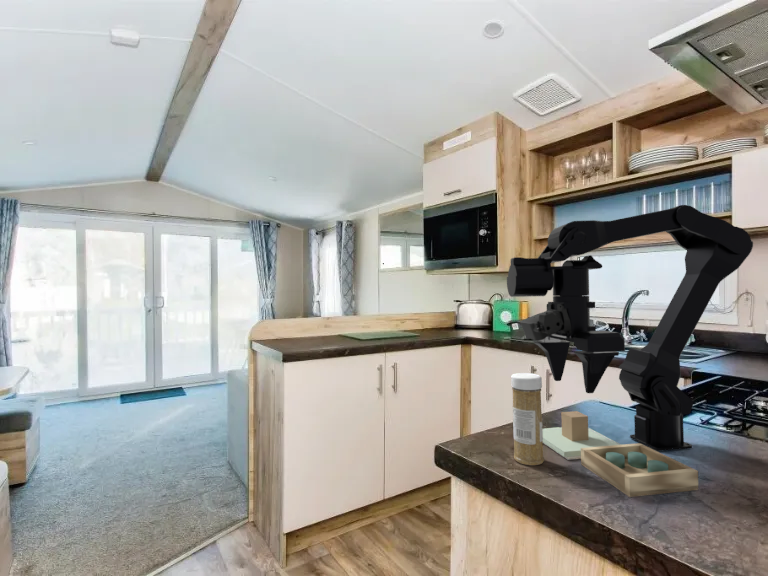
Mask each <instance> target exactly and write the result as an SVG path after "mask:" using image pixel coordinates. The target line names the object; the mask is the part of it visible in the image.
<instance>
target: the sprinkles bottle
mask: <svg viewBox="0 0 768 576" xmlns="http://www.w3.org/2000/svg"><path fill="white" fill-rule="evenodd" d="M510 378H511V379H510V385H511V387H512V388H511V390H512V425H513V427H512V429H513V444H514V447H513V449H514V451H513V452H514V454H513V458H514V460H515V461H516V462H517V463H519V464H521V465H526V466H539V465H542V464H543V462H544V461H545V457H544V448H543V446H544V445H543V444H544V443H543V429H544V428H543V420H542V419H543V416H542V415H543V413H542V393H541V392H542V387H543V383H542V382H543V381H542V376H541V375H540V374H537V373H532V372H518V373H512V374H511V376H510Z"/></svg>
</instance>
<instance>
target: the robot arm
mask: <svg viewBox="0 0 768 576" xmlns="http://www.w3.org/2000/svg"><path fill="white" fill-rule="evenodd" d="M665 232H666V233H667V234H669V235H670V236H671V237H672V239H673V240H674V241H675V243H676V244H677V246H679V247H680V248H682V249H684V250H685V252H686V253H685V255H684V263H685V273H684V276H683V278H682V279H681V281H680V284H679V286H678V287H677V289H676V290H675V293H674V294H673V297H672V298H671V300H670V302H669V304H668V305H667V308H666V309H665V312H664V313H663V314H662V317H661V319H660V321H659V323H658V325H657V326H656V328H655V330H654V332H653V334H652V336H651V338H650V339H649V342H648V343H647V344H646V345H645V346H643V347H642V348H640V349H636V348H632V347H631V348H629V349H628V351H627V353H626V356H625V358H624V360H623V361H622V363H621V364H620V365H618V369H621V370H620V372H619V376H618V380H619V381H620V385H621V386H622V388H623V389H624V390H625V391H626V392H627V393H628V395H629V398H630V400H631V401H632V402H635V403H637V404H638V405H635V414H634V416H633V417H634V419H633V420H634V434H630V435H629V439H631V440H634V441H635V442H638V443H641V444H643V445H645V446H647V447H649V448H651V449H653V450H655V451H657V452H664V451H675V450H676V451H677V450H687V449H688V450H689V449H693V445H692V444H690V443H689V442H685V440H684V439H685V437H684V415H690V414H691V411H692V409H693V406H694V401H693V400H692V399H691V398H690V397H689V396H688V395H687V394H685V392H683V390H681V389H680V388H679V387H678V385H679V382H680V379H681V375H682V374H681V373H682V372H681V362H680V358H681V356H682V353H683V351H684V349H685V347H686V345H687V343H688V342H689V340H690V339H691V336H692V335H693V332H694V331H695V329H696V328H697V326H698V323H699V321H700V320H701V318H702V316H703V314H704V312H705V310H706V309H707V306H709V303H710V301H711V300H712V297H713V296H714V293H715V292H716V290H717V288H718V286H719V284H720V283H721V282H722V281H723V280H724V279H726V278H727V277H729V276H730V275H731V274H732V273H734V272H735V271H736V270H738V269H739V268H740V267H741V266H742V264H743V263H744V262H745V260H747V258H748V257H749V256H750V254H751V253H752V251H753V247H754V242H753V240H752V239H751V236H750V235H749V233H748V232H747V231H746V230H745V229H744V228H742V227H740V226H734V225H733V224H731V223H730V222H728V221H727V220H724V219H722V218H719V217H716V216H712V215H710V214H707V213H703V212H702V211H699V210H698V209H697V208H695V207H694V206H692V205H688V204H680V205H677V206H675V207H671V208H667V209H664V210H663V209H662V210H658V211H653V212H648V213H644V214H643V213H642V214H639V215H638V214H637V215H634V216H627V217H624V218H619V219H614V220H613V219H612V220H593V219H592V220H591V219H590V220H573V221H570V222H567V223H566V224H563V225H560V226H558V227H555V228H554V229H552V230H551V231H550V233H549V235H548V237H547V245H546V246H545V247H544V249H543V250H542V251H541V253H540V254H539V256H538V257H537V258H536V257H535V258H533V257H532V258H530V257H529V258H526V257H517V256H516V257H512V258H510V266H509V268H508V274H507V276H506V287H507V293H508V295H509V297H511V298H514V297H515V298H516V297H519V298H521V297H522V298H523V297H526V298H527V297H546V295H547V294H548V292H549V291H552V301H548V302H547V304H546V310H545V311H542V312H539V313H537V314H534V315H531V316H529V317H527V318H525V319H522V320H521V321H520V325H521V328H522V331H523V334H524V337H525V339H526V340H530V339H531V340H533V344H535V345H536V346H538V347H539V348H540V349H541V350H542V351H543V352H544V354H545V356H546V357H545V358H546V360H547V362H548V365H549V368H550V371H551V375H552V378H553V379H554V381H555V382H561V381H562V379H563V378H562V377H563V374H564V372H565V367H566V361H567V357H568V353H569V348H570V345H571V343H573V344H574V346H575V348H576V349H577V350H573V353H574V354H575V355H576V356H577V357H578V358H579V360H581V365H582V373H583V375H582V376H583V384H584V388H585V393H586V394H593V393H595V391H596V389H597V387H598V385H599V383H600V381H601V379H602V377H603V376H604V374H605V372H606V370H607V369H608V367H609V365H610V364H611V363H612V361H613V360H614V358H615V357H616V356H617V357H618V356H619V355H620V352H624V351H626V340H625V337H624V336H623V334H622V333H620V332H617V331H609V330H597V329H596V327H597V326H596V325H591V319H590V317H591V316H590V315H591V311H590V309H596V302H595V301H590V273H589V272H590V270H598V269H599V270H600V269H602V268H603V265H602V263H600V262H599V261H598V260H596V259H595V258H594V257H593V255H591V254H590V255H589V254H588V255H586V256H585V254H587V253H590V252H591V251H594V250H598V249H600V248H602V247H605V246H607V245H609V244H611V243H614V242H619V241H623V240H624V241H625V240H629V239H634V238H639V237H643V236H649V235H650V236H651V235H655V234H659V233H665ZM581 255H584V256H583V258H582V259H569V258H571V257H577V256H581ZM568 259H569V260H568ZM557 262H558V263H559V262H563V263H562V265H561V266H559V265H557V266H556V265H555V266H552V264H553V263H557Z"/></svg>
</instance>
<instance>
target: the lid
mask: <svg viewBox="0 0 768 576" xmlns="http://www.w3.org/2000/svg"><path fill="white" fill-rule="evenodd" d="M560 414H561V415H560V416H561V417H560V418H561V426H560V427H548V428H546V427H545V428H543V444H544V443H545V444H546V445H545V444H544V445H545V446H547V445H548V446H549V447H548V446H547V447H548V448H550V447H551V448H552V449H551V448H550V449H551V450H553V449H554V450H555V451H556V452H555V451H554V450H553V451H554V452H555V453H557V452H558V453H559V454H558V453H557V454H558V455H560V454H561V455H562V456H561V455H560V456H561V457H563V456H564V457H569V456H581V448H588V447H600V446H612V445H622V444H620V443H619V442H618V441H615V440H613V439H611V438H609V437H607V436H605V435H604V434H602V433H600V432H598V431H595V430H594V429H592V428H590V427H589V416H588V415H586V414H584V413H582V412H580V411H577V410H576V411H561V413H560ZM564 457H563V458H564Z"/></svg>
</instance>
